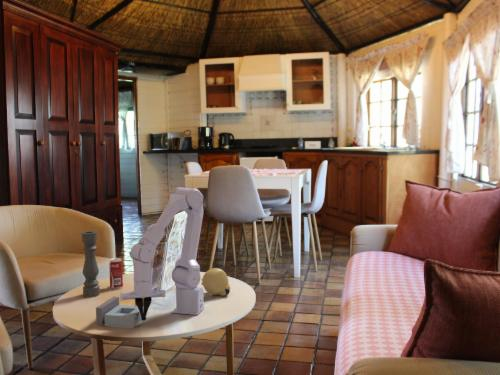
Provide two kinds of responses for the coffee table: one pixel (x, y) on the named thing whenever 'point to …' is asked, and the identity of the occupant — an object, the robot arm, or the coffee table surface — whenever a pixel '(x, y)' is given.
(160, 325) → the coffee table surface
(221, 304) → the coffee table surface
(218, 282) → the toy pig
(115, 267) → the soda can
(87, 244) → the candle holder
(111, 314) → the socket block
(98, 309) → the charcoal wall
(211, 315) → the coffee table surface
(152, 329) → the coffee table surface
